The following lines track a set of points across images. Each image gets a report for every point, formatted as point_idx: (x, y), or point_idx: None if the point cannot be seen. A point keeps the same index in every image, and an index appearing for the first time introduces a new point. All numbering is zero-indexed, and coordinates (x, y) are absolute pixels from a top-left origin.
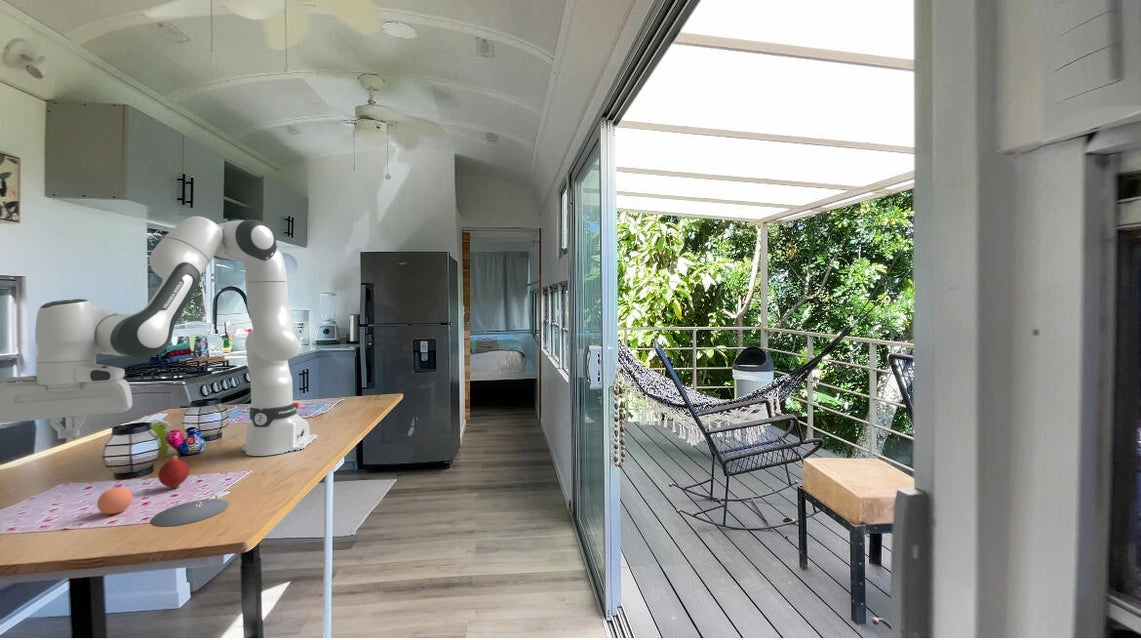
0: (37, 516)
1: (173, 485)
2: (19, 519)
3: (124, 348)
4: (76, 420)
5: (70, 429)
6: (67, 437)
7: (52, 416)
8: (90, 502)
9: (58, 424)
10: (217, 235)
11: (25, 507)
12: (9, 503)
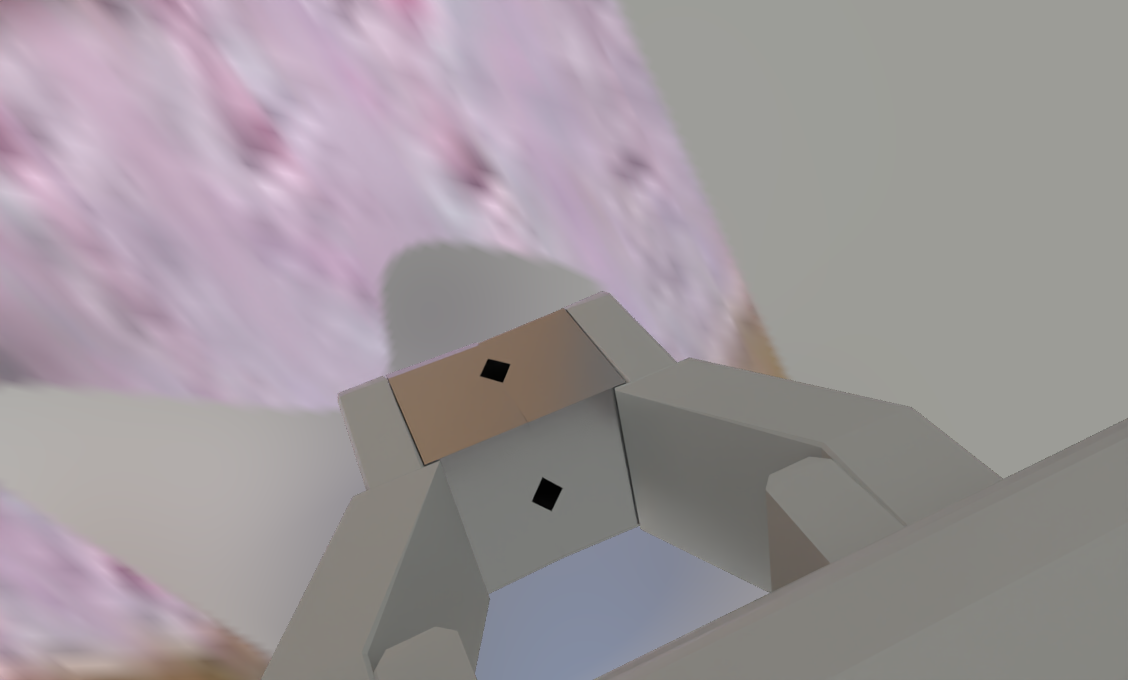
0: (502, 64)
1: None
2: (584, 39)
3: None
4: (410, 659)
5: (492, 469)
6: (480, 347)
7: (1035, 509)
8: (302, 262)
9: (764, 508)
10: None
11: (663, 258)
12: (768, 337)
